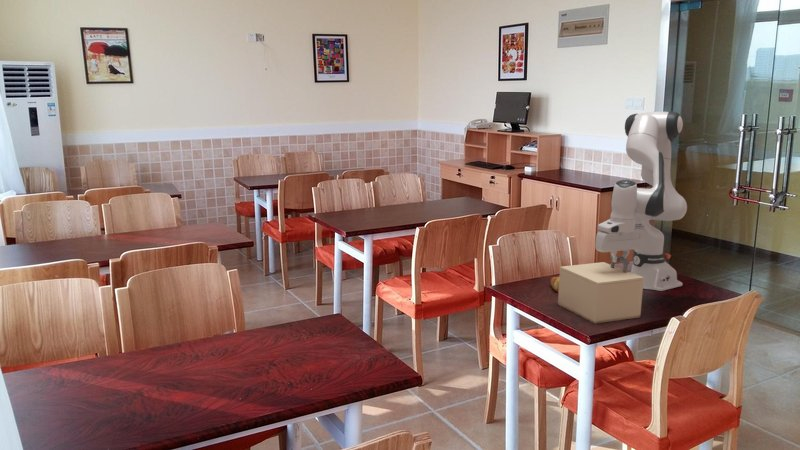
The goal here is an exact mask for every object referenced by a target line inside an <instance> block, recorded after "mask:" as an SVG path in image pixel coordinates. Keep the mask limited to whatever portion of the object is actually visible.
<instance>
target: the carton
mask: <svg viewBox="0 0 800 450" xmlns="http://www.w3.org/2000/svg"><path fill="white" fill-rule="evenodd" d="M559 276H560V278H559V293H558V294H557V295H558V297H557V306H560V307H562V308H564V309H566V310H568V311H569V312H571V313H573V314H575V315H577V316H579V317H581V318H583V319H585V320H587V321H588V320H589V321H588V322H590V323H593V324H603V323H609V322H616V321H623V320H627V319H636V318H641V313H642V301H643V291H644V289H643V281H644V280H636V281H628V282H619V283H611V284H603V285H596V284H594V283H592V282H589V281H587V280H585V279H582V278H580V277H578V276H576V275H573V274H571V273H569V272H566V271H564V270H562V269H560V268H559Z"/></svg>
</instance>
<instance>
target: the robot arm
mask: <svg viewBox="0 0 800 450" xmlns="http://www.w3.org/2000/svg"><path fill="white" fill-rule="evenodd" d="M683 127H684V122H683V118H682V115H681V114H680V113H679V112H678V111H671V110H669V111H651V112H650V111H649V112H642V113H633V114H631V115H629V116H627V118H626V119H625V123H624V131H625V135H626V136H627V140H626V145H625V151H626V155H627V156H628V157H629V159H630V160H631V161H633V162H634V163H636V164H638V165H641V170H640V176H641V179H642V181H644V182H645V183H647V184H648V185H650V186H652V187H651V188H644V187H638V186H637V181H636V182H635V181H633V180H630V179H622V180H618V181H615V183H614V185H613V191H612V194H611V199H610V206H611V212H610V217H609V218H608V219H607V220H605V221H603V222H601V223H599V224H597V230H598V231H597V233H596V236H595V237H596V238H595V244H594V245H595V250H596V251H598V252H599V253H610V255H612V257H613V260H612V261H613V262H614V263H620V262H619V258H618V257H617V256H618V255H617V254H618V252H620V251H622V252H623V253H622V255H620V256H619V257H622V258H625V259H627V257H628V256H629V255H630V252H631V250H633V253H632V265H631V271H630V272H631V273H634V274H636V275H639V276H642V277H644V281H643V290H653V291H659V292H663V291H666V290H667V291H668V290H671V289H674V288H675V289H676V288H678V287H682V286H683V282H681V281H680V280H678V273H677V270H676V269H675V268H674V267H673V266H672V265H670V264H669V263H668V262H667V261H666V259H668V260H669V259H671V257H672V255H671V254H670V253H668V252H667V253H664V244H665V235H664V233H663V232H662V231H661V230H660V229H658V228H656V227H654V226H653V225H652V224H651V223H650V221H652V220H653V221H654V220H655V221H664V222H665V221H667V222H670V221H678V220H679V221H680V220H681V219H683V217H685V215H686V213H687V211H688V203H687V201H686V199H685V198H684V196H682V195H681V194H679V193H678V191H677V190H676V188H675V187H674V185H673V183H672V178H671V166H672V144H671V143H672V142H674V140H676V138H678V137H679V136H680V134H681V133H682V130H683Z"/></svg>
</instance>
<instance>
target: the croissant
mask: <svg viewBox="0 0 800 450" xmlns="http://www.w3.org/2000/svg"><path fill="white" fill-rule="evenodd" d="M559 278H560V275H559V276H553V277H550V285H551V289H553V290H554V291H555V292H557V293H558V294H559Z"/></svg>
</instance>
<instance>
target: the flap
mask: <svg viewBox="0 0 800 450" xmlns="http://www.w3.org/2000/svg"><path fill="white" fill-rule="evenodd" d="M616 256H617V257H618V258H619V262H618V263H620V264H623V267H622V268H620V267H618V266H615V263H614V262H613V261H612V260H613V257H612V255H611V254H610V256H609V259H610V263H607V262H604V261H602V262H601V261H600V262H591V263H582V264H572V265H571V264H570V265H565V266H560V267H559V270H560V269H562V270H564V271H566V272H569V273H571V274H573V275H576V276H578V277H580V278H582V279H585V280H587V281H589V282H592V283H594V284H596V285H603V284H611V283H619V282H628V281H636V280H644V277H642V276H639V275H636V274H634V273H631V271H628V267H629V264H630V260H629V259H627V258H626V259H625V258H622V257H620V256H618V255H616Z"/></svg>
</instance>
